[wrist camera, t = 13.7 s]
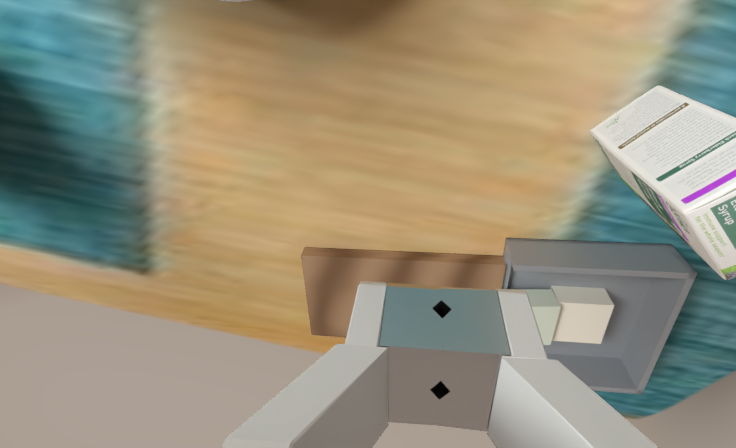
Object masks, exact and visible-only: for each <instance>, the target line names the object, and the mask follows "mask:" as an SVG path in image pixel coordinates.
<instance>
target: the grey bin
mask: <svg viewBox="0 0 736 448" xmlns="http://www.w3.org/2000/svg"><path fill="white" fill-rule="evenodd" d="M503 256H504V260H505V264H506V267H505V273H504V279H503V284H502V289H551V286H569V287H588V288H605V290H606V292H607V293H608V295H609V297H610V299H611V300H612V302H613V304H614V308H613V311H612V314H611V316H610V319H609V322H608V325H607V328H606V330H605V333H604V336H603V339H602V342H601V344H594V343H579V342H564V341H551V345H544V347H545V350H546V354H547V357H548V359H551V360H558V361H559V362H561V363H562V364H563V365H564V366H565V367H566V368H568V369H569V370H570V371H571V372H572V373H573V374H574V375H576V376H577V377H578V378H579V379H580V380H581V381H583V382H584V383H585V384H586V385H587V386H588V387H589V388H591V389H592V390H595V391H607V392H620V393H633V394H642V392H643V390H644V388H645V386H646V384H647V382H648V379H649V377H650V375H651V373H652V371H653V369H654V366H655V364H656V362H657V360H658V358H659V356H660V353H661V351H662V349H663V347H664V345H665V343H666V340H667V338H668V336H669V334H670V332H671V330H672V327H673V325H674V323H675V321H676V319H677V317H678V314H679V312H680V310H681V308H682V306H683V304H684V301H685V299H686V297H687V295H688V293H689V291H690V288H691V286H692V284H693V282H694V280H695V278H696V275H697V272H696V271H695V270H694V269H693V268H692V267H691V266H690V265H689V264H688V263H687V261H686V260H685V259H684V258H683V257H682V256H681V255H680V254H679V253H678V252H677V250H676V249H675V248H674V247H673V246H672V245H671V244H651V243H625V242H600V241H574V240H548V239H523V238H506V243H505V249H504V255H503Z"/></svg>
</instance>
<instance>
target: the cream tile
mask: <svg viewBox="0 0 736 448" xmlns="http://www.w3.org/2000/svg"><path fill="white" fill-rule="evenodd" d="M551 289H552V291H553V293H554V295H555V297H556V299H557V300H558V302H559V304H560V306H561V308H560V312H559V315H558V319H557V323H556V326H555V330H554V334H553V337H552V341H564V342H579V343H594V344H601V342H602V339H603V336H604V333H605V330H606V328H607V325H608V322H609V319H610V316H611V314H612V311H613V308H614V304H613V302H612V300H611V299H610V297H609V295H608V293H607V292H606V290H605V288H588V287H569V286H551Z"/></svg>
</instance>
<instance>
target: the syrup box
mask: <svg viewBox="0 0 736 448" xmlns="http://www.w3.org/2000/svg"><path fill="white" fill-rule="evenodd" d="M590 132H591V134H592V136H593V138H594V139H595V141H596V142H597V144H598V146H599V147H600V149H601V151H602V152H603V153H604V155H605V156H606V158H607V159H608V161H609V162H610V164H611V165H612V167H613V168H614V169H615V171H616V172H617V174H618V175H619V176H620V178H621V179H622V180H623V181H624V182H625V183H626V184H627V185H628V186H629V187H630V188H631V189H632V190H633V191H634V192H635V193H636V194H637V195H638V196H639V197H640V198H641V199H642V200H643V201H644V202H645V203H646V204H647V205H648V206H649V207H650V208H651V209H652V210H653V211H654V212H655V213H656V214H657V215H658V216H659V217H660V218H661V219H662V220H663V221H664V222H665V223H666V224H667V225H668V226H669V227H670V228H671V229H672V230H673V231H675V232H676V233H677V234H678V235H679V236H680V237H681V238H682V239H683V240H684V241H685V242H686V243H687V244H688V245H689V246H690V247H691V248H692V249H693V250H694V251H695V252H696V253H697V254H698V255H699V256H700V257H701V258H702V259H703V260H704V261H705V262H706V263H707V264H708V265H709V266H710V267H711V268H712V269H713V270H714V271H716V272H717V273H718V274H719V275H720V276H721V277H722V278H723V279H725V280H729V279H732V278H735V277H736V118H735V117H733V116H730V115H728V114H726V113H723V112H721V111H719V110H717V109H714V108H712V107H710V106H707V105H705V104H702V103H700V102H698V101H695V100H693V99H690V98H688V97H686V96H684V95H681V94H679V93H677V92H674V91H672V90H670V89H667V88H665V87H663V86H660V85H658V86H656V87H654V88H653V89H651V90H649V91H648V92H646V93H645V94H643V95H642V96H640V97H639V98H637V99H635V100H634V101H632V102H631V103H630V104H628V105H627V106H625V107H624V108H622V109H621V110H619V111H618V112H616V113H615V114H613V115H612V116H610V117H609V118H607V119H606V120H604V121H603V122H601V123H600V124H598V125H597V126H596V127H594V128H593V129H591V130H590Z"/></svg>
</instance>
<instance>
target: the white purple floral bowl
mask: <svg viewBox="0 0 736 448" xmlns="http://www.w3.org/2000/svg"><path fill="white" fill-rule="evenodd" d="M219 1H229V2H244V1H252V0H219Z"/></svg>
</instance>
